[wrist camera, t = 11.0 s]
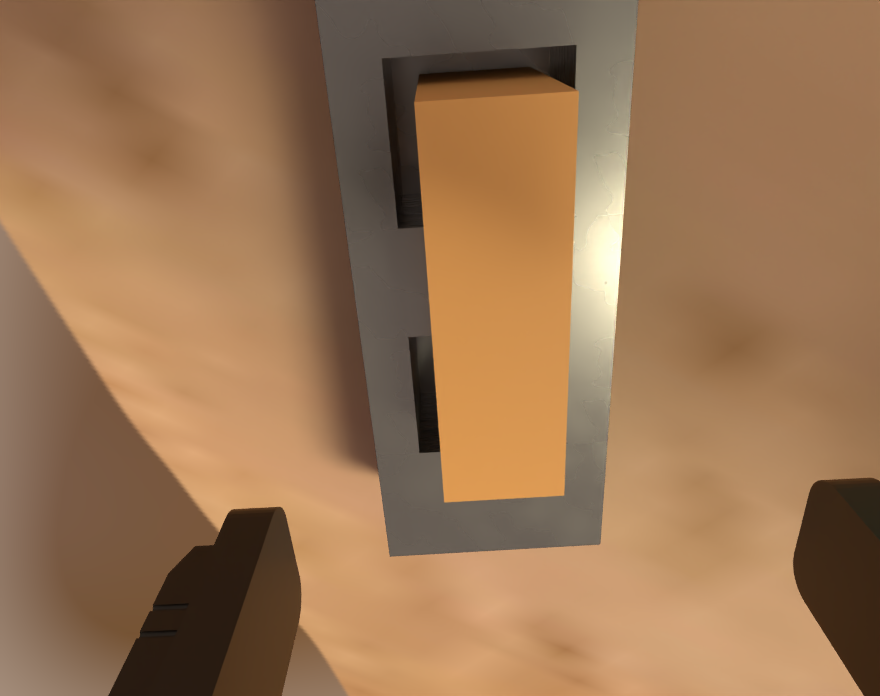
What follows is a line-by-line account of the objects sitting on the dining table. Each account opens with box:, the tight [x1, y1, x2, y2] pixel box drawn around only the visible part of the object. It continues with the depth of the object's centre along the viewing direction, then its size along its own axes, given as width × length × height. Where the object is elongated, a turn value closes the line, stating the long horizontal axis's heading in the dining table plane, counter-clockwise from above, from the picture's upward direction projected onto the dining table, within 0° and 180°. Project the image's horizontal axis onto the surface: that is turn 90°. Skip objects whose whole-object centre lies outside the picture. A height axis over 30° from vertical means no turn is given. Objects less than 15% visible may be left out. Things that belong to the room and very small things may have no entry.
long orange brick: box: [414, 67, 579, 502], centre depth 19 cm, size 4×11×8 cm, turn 4°
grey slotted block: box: [315, 0, 638, 557], centre depth 21 cm, size 8×22×4 cm, turn 4°
